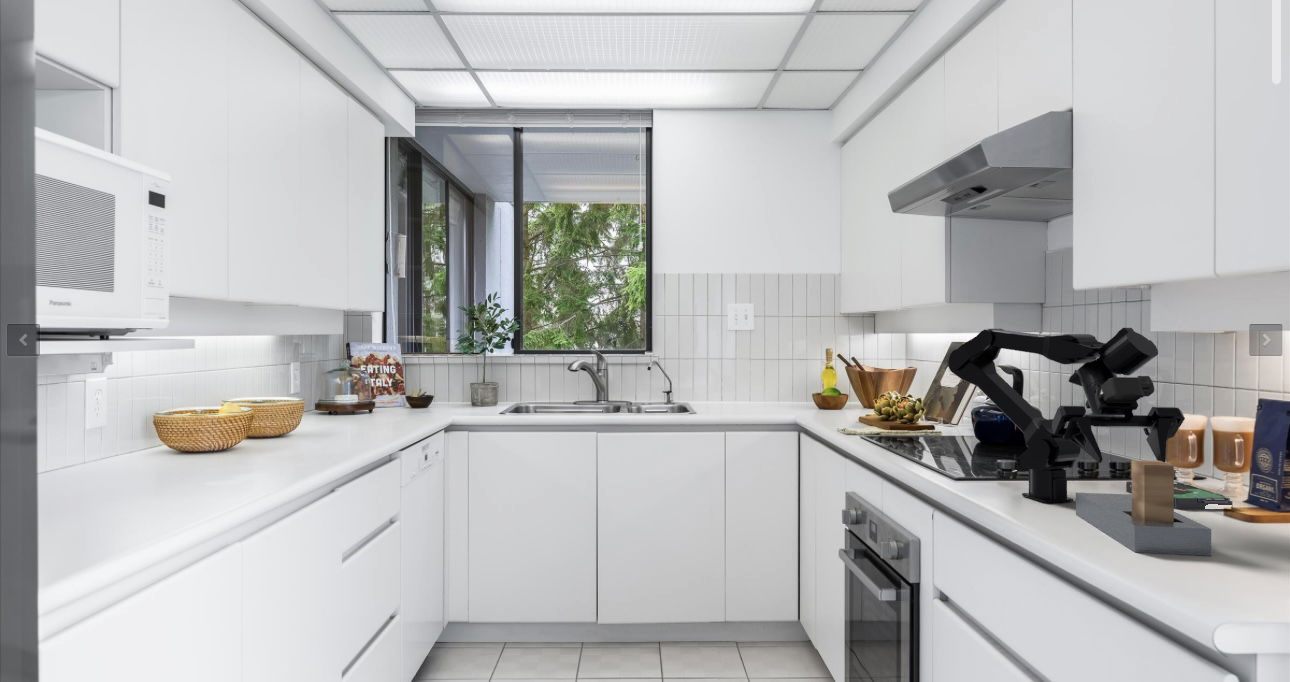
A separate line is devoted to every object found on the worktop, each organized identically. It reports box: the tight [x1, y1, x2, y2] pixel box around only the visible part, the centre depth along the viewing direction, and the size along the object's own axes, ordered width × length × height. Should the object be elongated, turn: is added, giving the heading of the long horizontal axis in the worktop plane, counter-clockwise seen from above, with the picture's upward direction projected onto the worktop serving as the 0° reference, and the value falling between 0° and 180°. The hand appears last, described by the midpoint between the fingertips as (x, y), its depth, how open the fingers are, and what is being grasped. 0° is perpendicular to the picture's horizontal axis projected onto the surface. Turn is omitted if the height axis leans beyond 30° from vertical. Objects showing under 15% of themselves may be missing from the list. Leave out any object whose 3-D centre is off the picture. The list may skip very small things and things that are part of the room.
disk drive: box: [1125, 480, 1234, 511], centre depth 135 cm, size 10×3×15 cm
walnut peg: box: [1131, 459, 1175, 522], centre depth 108 cm, size 4×4×12 cm
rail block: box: [1075, 492, 1212, 557], centre depth 113 cm, size 22×10×4 cm, turn 168°
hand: (1131, 462), depth 115 cm, fingers open, 9 cm apart
